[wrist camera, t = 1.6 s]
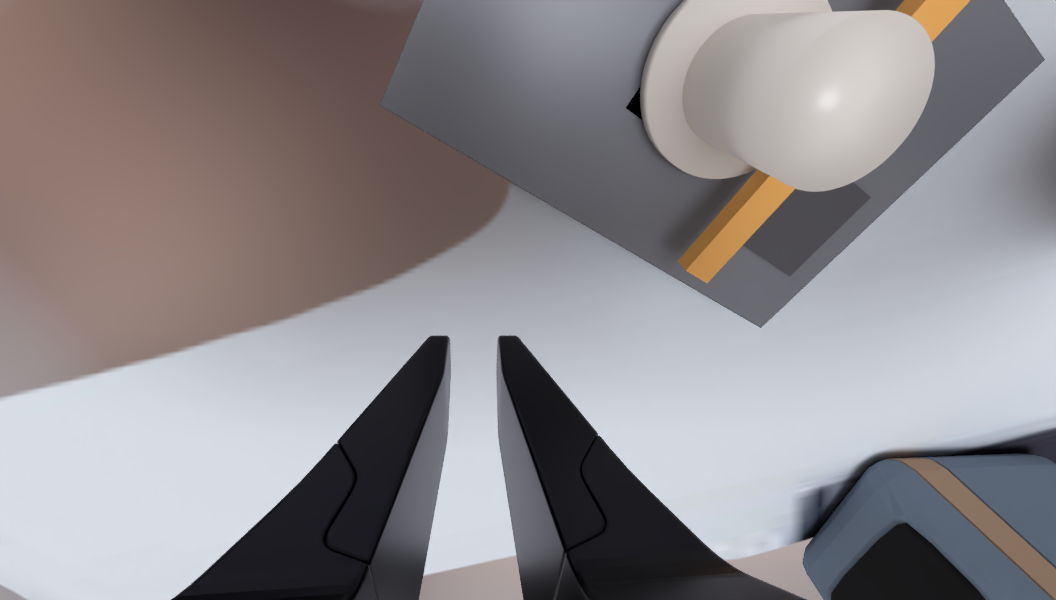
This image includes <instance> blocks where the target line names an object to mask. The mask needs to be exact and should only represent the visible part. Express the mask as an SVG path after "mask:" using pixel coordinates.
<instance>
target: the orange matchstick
mask: <svg viewBox="0 0 1056 600" xmlns="http://www.w3.org/2000/svg"><path fill="white" fill-rule="evenodd" d="M969 1H970V0H904V1H903V2H902V3H901V5H900V6H899V7H898V8H897V9H896V10H895V11H898V12H901V13H904V14H907V15H909V16H911V17H912V18H914V19H916V20H917V21H918V22H919V23H920V24H921V25H922V26H923V27H924V29H925V30H926V32H927V33H928V35H929V37H930V40H931V42H932V41H933V40H934V39H935V38H936V37H937V36H938V35H939V34H940V33H941V32H942V30H943V29H944V28H945V27H946V26H947V25H948V24H949V23H950V22H951V21H952V20H953V19H954V18H955V16H956V15H957V14H958V13H959V12H960V11H961V10H962V9H963V8H964V7H965V6H966V5H967V4H968V3H969ZM794 190H795V188H793V187H791V186H788V185H787V184H785V183H783V182H781V181H779V180H777V179H775V178H773V177H771V176H770V175H768V174H766V173H764V172H762V171H760V170H758V169H757V170H756V172H755V173H754V174H753V175H752V176H751V177H750V178H749V180H748V181H747V182H746V183H745V184H744V185H743V187H742V188H741V189H740V190H739V191H738V192H737V193H736V195H735V196H734V197H733V198H732V199H731V200H730V202H729V203H728V204H727V205H726V206H725V207H724V208H723V210H722V211H721V212H720V213H719V214H718V215H717V217H716V218H715V219H714V220H713V221H712V222H711V223H710V225H709V226H708V227H707V228H706V229H705V230H704V231H703V233H702V234H701V235H700V236H699V237H698V238H697V240H696V241H695V242H694V243H693V244H692V245H691V246H690V248H689V249H688V250H687V251H686V252H685V253H684V255H683V256H682V257H681V258H680V259H679V260H678V262H679V263H680V264H681V266H682V267H683V268H684V269H685V270H686V271H687V272H689V273H690V274H692V275H694V276H695V277H697V278H699V279H700V280H702V281H704V282H705V283H708V282H709V281H710V280H711V279H712V278H713V277H714V276H715V274H716V273H717V272H718V271H719V270H720V269H721V268H722V267H723V266H724V265H725V264H726V263H727V262H728V260H729V259H730V258H731V257H732V256H733V255H734V254H735V253H736V252H737V251H738V250H739V249H740V248H741V247H742V245H743V244H744V243H745V242H746V241H747V240H748V239H749V238H750V237H751V236H752V235H753V234H754V233H755V231H756V230H757V229H758V228H759V227H760V226H761V225H762V224H763V223H764V222H765V221H766V220H767V219H768V217H769V216H770V215H771V214H772V213H773V212H774V211H775V210H776V209H777V208H778V207H779V206H780V205H781V204H782V202H783V201H784V200H785V199H786V198H787V197H788V196H789V195H790V194H791V193H792V192H793V191H794Z"/></svg>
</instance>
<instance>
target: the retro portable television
mask: <svg viewBox="0 0 1056 600" xmlns="http://www.w3.org/2000/svg"><path fill="white" fill-rule="evenodd" d="M803 565H804V568H805V570H806V572H807V575H808V576H809V578H810V579H811V581H812V582H813V584H814V585H815V587H816V588H817V590H818V591H819V593H820V595H821V596H822V598H823V599H824V600H1056V464H1055V463H1054V462H1052V461H1050V460H1048V459H1047V458H1045V457H1040V456H1036V455H1029V454H1020V453H1017V454H992V455H966V456H941V457H919V458H917V457H916V458H890V459H884V460H882V461H879V462H877V463H875V464H873V465H872V466H870V467H869V468H868V469H867V470H866V471H865V472H864V474H863V475H862V476H861V477H860V479H859V480H858V481H857V483H856V484H855V485H854V486H853V488H852V489H851V490H850V492H849V493H848V494H847V495H846V497H845V498H844V499H843V501H842V502H841V503H840V504H839V506H838V507H837V508H836V509H835V511H834V512H833V513H832V515H831V516H830V517H829V518H828V520H827V521H826V522H825V524H824V525H823V526H822V527H821V529H820V530H819V531H818V533H817V534H816V535H815V536H814V538H813V539H812V540H811V541H810V543H809V544H808V545H807V547H806V549H805V553H804V558H803Z"/></svg>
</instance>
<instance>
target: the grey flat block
mask: <svg viewBox="0 0 1056 600" xmlns="http://www.w3.org/2000/svg"><path fill="white" fill-rule="evenodd" d="M682 1H683V0H423V3H422V5H421V8H420V10H419V12H418V15H417V17H416V20H415V22H414V24H413V27H412V29H411V32H410V34H409V36H408V39H407V41H406V44H405V46H404V49H403V51H402V53H401V56H400V58H399V61H398V63H397V65H396V68H395V70H394V73H393V75H392V77H391V80H390V82H389V84H388V87H387V89H386V92H385V94H384V97H383V99H382V101H381V104H380V106H382V107H384V108H385V109H387V110H389V111H391V112H392V113H394V114H396V115H397V116H399V117H401V118H402V119H404V120H406V121H408V122H409V123H411V124H413V125H414V126H416V127H418V128H420V129H422V130H423V131H425V132H427V133H428V134H430V135H432V136H433V137H435V138H437V139H438V140H440V141H442V142H443V143H445V144H447V145H449V146H450V147H452V148H454V149H456V150H457V151H459V152H461V153H462V154H464V155H466V156H467V157H469V158H471V159H473V160H474V161H476V162H478V163H479V164H481V165H483V166H485V167H486V168H488V169H490V170H492V171H493V172H495V173H497V174H498V175H500V176H502V177H503V178H505V179H507V180H508V181H510V182H512V183H514V184H515V185H517V186H519V187H520V188H522V189H524V190H526V191H527V192H529V193H531V194H532V195H534V196H536V197H538V198H539V199H541V200H543V201H544V202H546V203H548V204H550V205H551V206H553V207H555V208H556V209H558V210H560V211H561V212H563V213H565V214H567V215H568V216H570V217H572V218H573V219H575V220H577V221H579V222H580V223H582V224H584V225H585V226H587V227H589V228H591V229H592V230H594V231H596V232H597V233H599V234H601V235H603V236H604V237H606V238H608V239H609V240H611V241H613V242H614V243H616V244H618V245H620V246H621V247H623V248H625V249H626V250H628V251H630V252H632V253H633V254H635V255H637V256H638V257H640V258H642V259H644V260H645V261H647V262H649V263H650V264H652V265H654V266H656V267H657V268H659V269H661V270H662V271H664V272H666V273H667V274H669V275H671V276H673V277H674V278H676V279H678V280H679V281H681V282H683V283H685V284H686V285H688V286H690V287H691V288H693V289H695V290H697V291H698V292H700V293H702V294H703V295H705V296H707V297H709V298H710V299H712V300H714V301H715V302H717V303H719V304H721V305H722V306H724V307H726V308H727V309H729V310H731V311H732V312H734V313H736V314H738V315H739V316H741V317H743V318H744V319H746V320H748V321H750V322H751V323H753V324H755V325H756V326H758V327H760V328H761V327H762V326H763V325H764V324H765V323H767V322H768V321H769V320H770V319H771V318H772V317H773V316H774V315H775V314H776V313H777V312H778V311H779V310H780V309H781V308H782V307H783V306H785V305H786V304H787V303H788V302H789V301H790V300H791V299H792V298H793V297H794V296H795V295H796V294H797V293H798V292H799V291H800V290H801V289H803V288H804V287H805V286H806V285H807V284H808V283H809V282H810V281H811V280H812V279H813V278H814V277H815V276H816V275H817V274H818V273H819V272H821V271H822V270H823V269H824V268H825V267H826V266H827V265H828V264H829V263H830V262H831V261H832V260H833V259H834V258H835V257H836V256H837V255H839V254H840V253H841V252H842V251H843V250H844V249H845V248H846V247H847V246H848V245H849V244H850V243H851V242H852V241H853V240H854V239H855V238H857V237H858V236H859V235H860V234H861V233H862V232H863V231H864V230H865V229H866V228H867V227H868V226H869V225H870V224H871V223H872V222H874V221H875V220H876V219H877V218H878V217H879V216H880V215H881V214H882V213H883V212H884V211H885V210H886V209H887V208H888V207H889V206H890V205H892V204H893V203H894V202H895V201H896V200H897V199H898V198H899V197H900V196H901V195H902V194H903V193H904V192H905V191H906V190H907V189H908V188H910V187H911V186H912V185H913V184H914V183H915V182H916V181H917V180H918V179H919V178H920V177H921V176H922V175H923V174H924V173H925V172H926V171H928V170H929V169H930V168H931V167H932V166H933V165H934V164H935V163H936V162H937V161H938V160H939V159H940V158H941V157H942V156H943V155H944V154H946V153H947V152H948V151H949V150H950V149H951V148H952V147H953V146H954V145H955V144H956V143H957V142H958V141H959V140H960V139H961V138H962V137H964V136H965V135H966V134H967V133H968V132H969V131H970V130H971V129H972V128H973V127H974V126H975V125H976V124H977V123H978V122H979V121H980V120H982V119H983V118H984V117H985V116H986V115H987V114H988V113H989V112H990V111H991V110H992V109H993V108H994V107H995V106H996V105H997V104H998V103H1000V102H1001V101H1002V100H1003V99H1004V98H1005V97H1006V96H1007V95H1008V94H1009V93H1010V92H1011V91H1012V90H1013V89H1014V88H1015V87H1016V86H1018V85H1019V84H1020V83H1021V82H1022V81H1023V80H1024V79H1025V78H1026V77H1027V76H1028V75H1029V74H1030V73H1031V72H1032V71H1033V70H1034V69H1036V68H1037V67H1038V66H1039V65H1040V64H1041V63H1042V62H1043V61H1044V60H1045V59H1044V58H1043V56H1042V55H1041V54H1040V52H1039V51H1038V49H1037V48H1036V46H1035V45H1034V43H1033V42H1032V40H1031V39H1030V38H1029V36H1028V35H1027V33H1026V32H1025V30H1024V29H1023V27H1022V26H1021V24H1020V23H1019V22H1018V20H1017V19H1016V17H1015V16H1014V14H1013V13H1012V11H1011V10H1010V8H1009V7H1008V6H1007V4H1006V3H1005V1H1004V0H970V1H969V3H968V4H967V5H966V6H965V7H964V8H963V9H962V10H961V11H960V12H959V13H958V14H957V15H956V16H955V18H954V19H953V20H952V21H951V22H950V23H949V24H948V25H947V26H946V27H945V28H944V29H943V30H942V32H941V33H940V34H939V35H938V36H937V37H936V38H935V39H934V40H933V41H932V45H933V50H934V57H935V70H934V79H933V83H932V88H931V91H930V94H929V98H928V101H927V103H926V105H925V107H924V110H923V112H922V114H921V116H920V118H919V119H918V121H917V123H916V125H915V126H914V128H913V129H912V131H911V132H910V134H909V135H908V136H907V138H906V139H905V140H904V141H903V143H902V144H901V145H900V146H899V147H898V148H897V149H896V151H895V152H894V153H893V154H892V155H891V156H890V157H889V158H887V159H886V160H885V161H884V162H883V163H882V164H881V165H879V166H878V167H877V168H875V169H874V170H873V171H871V172H870V173H868V174H867V175H865V176H864V177H862V178H860V179H858V180H856V181H854V182H852V183H850V184H848V185H845V186H843V187H840V188H836V189H833V190H827V191H819V192H810V191H803V190H798V189H795V190H794V191H793V192H792V193H791V194H790V195H789V196H788V197H787V198H786V199H785V200H784V201H783V202H782V204H781V205H780V206H779V207H778V208H777V209H776V210H775V211H774V212H773V213H772V214H771V215H770V216H769V217H768V219H767V220H766V221H765V222H764V223H763V224H762V225H761V226H760V227H759V228H758V229H757V230H756V231H755V233H754V234H753V235H752V236H751V237H750V238H749V239H748V240H747V241H746V242H745V243H744V244H743V245H742V247H741V248H740V249H739V250H738V251H737V252H736V253H735V254H734V255H733V256H732V257H731V258H730V259H729V260H728V262H727V263H726V264H725V265H724V266H723V267H722V268H721V269H720V270H719V271H718V272H717V273H716V274H715V276H714V277H713V278H712V279H711V280H710V281H709V282H708V283H705V282H704V281H702V280H700V279H699V278H697V277H695V276H694V275H692V274H690V273H689V272H687V271H686V270H685V269H684V268H683V267H682V266H681V264H680V263H679V262H678V260H679V259H680V258H681V257H682V256H683V255H684V253H685V252H686V251H687V250H688V249H689V248H690V246H691V245H692V244H693V243H694V242H695V241H696V240H697V238H698V237H699V236H700V235H701V234H702V233H703V231H704V230H705V229H706V228H707V227H708V226H709V225H710V223H711V222H712V221H713V220H714V219H715V218H716V217H717V215H718V214H719V213H720V212H721V211H722V210H723V208H724V207H725V206H726V205H727V204H728V203H729V202H730V200H731V199H732V198H733V197H734V196H735V195H736V193H737V192H738V191H739V190H740V189H741V188H742V187H743V185H744V184H745V183H746V182H747V181H748V180H749V178H750V177H751V176H752V175H753V174H754V173H755V172H756V170H757V169H756V170H753V171H751V172H749V173H746V174H743V175H740V176H737V177H731V178H726V179H706V178H701V177H697V176H693V175H691V174H688V173H686V172H684V171H682V170H681V169H679V168H677V167H676V166H674V165H673V164H672V163H670V162H669V161H668V160H667V159H665V158H664V157H663V156H662V155H661V154H660V153H659V152H658V151H657V149H656V148H655V147H654V145H653V144H652V142H651V141H650V139H649V137H648V134H647V132H646V130H645V127H644V123H643V121H642V120H641V119H640V118H638V117H637V116H636V115H634V114H633V113H632V112H630V111H629V110H628V109H626V107H627V105H628V104H629V102H630V101H631V99H632V98H633V96H634V95H635V93H636V92H637V90H638V89H639V87H640V86H641V79H642V75H643V70H644V65H645V62H646V59H647V56H648V53H649V51H650V49H651V46H652V44H653V42H654V40H655V38H656V36H657V34H658V33H659V31H660V29H661V27H662V26H663V24H664V23H665V21H666V20H667V19H668V17H669V16H670V15H671V13H672V12H673V11H674V10H675V9H676V8H677V7H678V5H679V4H680V3H681V2H682ZM827 1H828V3H829V5H830V7H831V9H832V12H837V11H871V10H891V11H895V10H896V9H897V8H898V7H899V6H900V5H901V3H902V2H903V1H904V0H827Z"/></svg>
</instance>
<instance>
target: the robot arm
mask: <svg viewBox="0 0 1056 600" xmlns="http://www.w3.org/2000/svg"><path fill="white" fill-rule="evenodd" d="M450 378H451V359H450V339H449V337H448V336H430V337H429V338H428V339H427V340H426V341H425V342H424V343H423V344H422V345H421V347H420V348H419V349H418V350H417V351H416V352H415V353H414V355H413V356H412V357H411V358H410V359H409V360H408V361H407V363H406V364H405V365H404V366H403V367H402V368H401V369H400V371H399V372H398V373H397V374H396V375H395V376H394V377H393V378H392V380H391V381H390V382H389V383H388V384H387V385H386V386H385V388H384V389H383V390H382V391H381V392H380V393H379V394H378V396H377V397H376V398H375V399H374V400H373V401H372V402H371V404H370V405H369V406H368V407H367V408H366V409H365V410H364V411H363V413H362V414H361V415H360V416H359V417H358V418H357V419H356V421H355V422H354V423H353V424H352V425H351V426H350V427H349V429H348V430H347V431H346V432H345V433H344V434H343V435H342V437H341V438H340V439H339V440H338V442H337V443H338V444H334V445H333V446H332V448H331V449H330V450H329V451H328V452H327V453H326V454H325V456H324V457H323V458H322V459H321V460H320V461H319V462H318V463H317V464H316V465H315V466H314V468H313V469H312V470H311V471H310V472H309V473H308V474H307V475H306V476H305V477H304V478H303V479H302V480H301V482H300V483H299V484H297V485H296V486H295V487H294V488H293V489H292V490H291V491H290V492H289V493H288V494H287V495H286V496H285V497H284V498H283V499H282V500H281V501H280V502H279V503H278V504H277V505H276V506H275V507H274V508H273V509H272V510H271V511H270V512H269V513H267V514H266V515H265V516H264V517H263V518H262V519H261V520H260V521H259V522H258V523H257V524H256V525H255V526H254V527H253V528H251V529H250V530H249V531H248V532H247V533H246V534H245V535H244V536H243V537H242V538H241V539H240V540H239V541H238V542H236V543H235V544H234V545H233V546H232V547H231V548H230V549H229V550H228V551H227V552H226V553H225V554H224V555H223V556H221V557H220V558H219V559H218V560H217V561H216V562H215V563H214V564H213V565H212V566H211V567H210V568H209V569H208V570H206V571H205V572H204V573H203V574H202V575H201V576H200V577H199V578H198V579H196V580H195V581H194V582H193V583H192V584H191V585H190V586H188V587H187V588H186V589H184V590H183V591H182V592H181V593H179V594H178V595H177V596H176V597H174V598H173V599H171V600H419V595H420V589H421V584H422V578H423V573H424V567H425V562H426V556H427V550H428V545H429V539H430V534H431V528H432V522H433V517H434V511H435V506H436V500H437V495H438V489H439V483H440V478H441V472H442V467H443V461H444V455H445V450H446V443H447V435H448V420H449V399H450ZM497 412H498V437H499V445H500V452H501V458H502V465H503V471H504V477H505V484H506V490H507V497H508V503H509V509H510V516H511V522H512V529H513V535H514V542H515V548H516V554H517V561H518V567H519V574H520V580H521V587H522V593H523V598H524V600H807V599H804V598H802V597H800V596H797V595H795V594H793V593H790V592H788V591H785V590H783V589H781V588H778V587H776V586H773V585H771V584H769V583H767V582H764V581H762V580H759V579H757V578H754V577H752V576H750V575H748V574H746V573H744V572H742V571H740V570H738V569H737V568H735V567H733V566H732V565H730V564H729V563H727V562H726V561H725V560H723V559H722V558H721V557H719V556H718V555H717V554H716V553H714V552H713V551H712V550H711V549H710V548H709V547H707V546H706V545H705V544H704V543H703V542H702V541H701V540H700V539H699V538H698V537H697V536H696V535H695V534H694V533H693V532H692V531H691V530H690V529H689V528H688V527H686V526H685V525H684V524H683V523H682V522H681V521H680V520H679V519H678V518H677V517H676V516H675V515H674V514H673V513H672V512H671V511H670V510H669V509H668V508H667V507H666V506H665V505H664V504H663V503H662V502H661V501H660V500H659V499H658V498H657V497H656V496H655V495H654V494H653V493H651V492H650V491H649V490H648V489H647V488H646V487H645V485H644V484H643V483H642V482H641V481H640V480H639V479H638V478H637V477H636V476H635V475H634V474H633V473H632V472H631V471H630V470H629V469H628V468H627V467H626V466H625V465H624V464H623V462H622V461H621V460H620V459H619V458H618V457H617V456H616V454H615V453H614V452H613V451H612V450H611V449H610V448H609V446H608V445H607V444H606V443H605V441H604V440H603V439H602V438H601V437H600V436H598V434H597V432H596V431H595V430H594V428H593V427H592V426H591V425H590V423H589V422H588V421H587V420H586V419H585V417H584V416H583V415H582V414H581V413H580V411H579V410H578V409H577V408H576V407H575V405H574V404H573V403H572V402H571V401H570V399H569V398H568V397H567V396H566V394H565V393H564V392H563V391H562V390H561V388H560V387H559V386H558V385H557V384H556V382H555V381H554V380H553V379H552V378H551V376H550V375H549V374H548V373H547V371H546V370H545V369H544V368H543V367H542V365H541V364H540V363H539V362H538V361H537V359H536V358H535V357H534V356H533V355H532V353H531V352H530V351H529V350H528V348H527V347H526V346H525V345H524V344H523V342H522V341H521V340H520V339H519V338H518V337H517V336H499V338H498V345H497Z"/></svg>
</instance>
